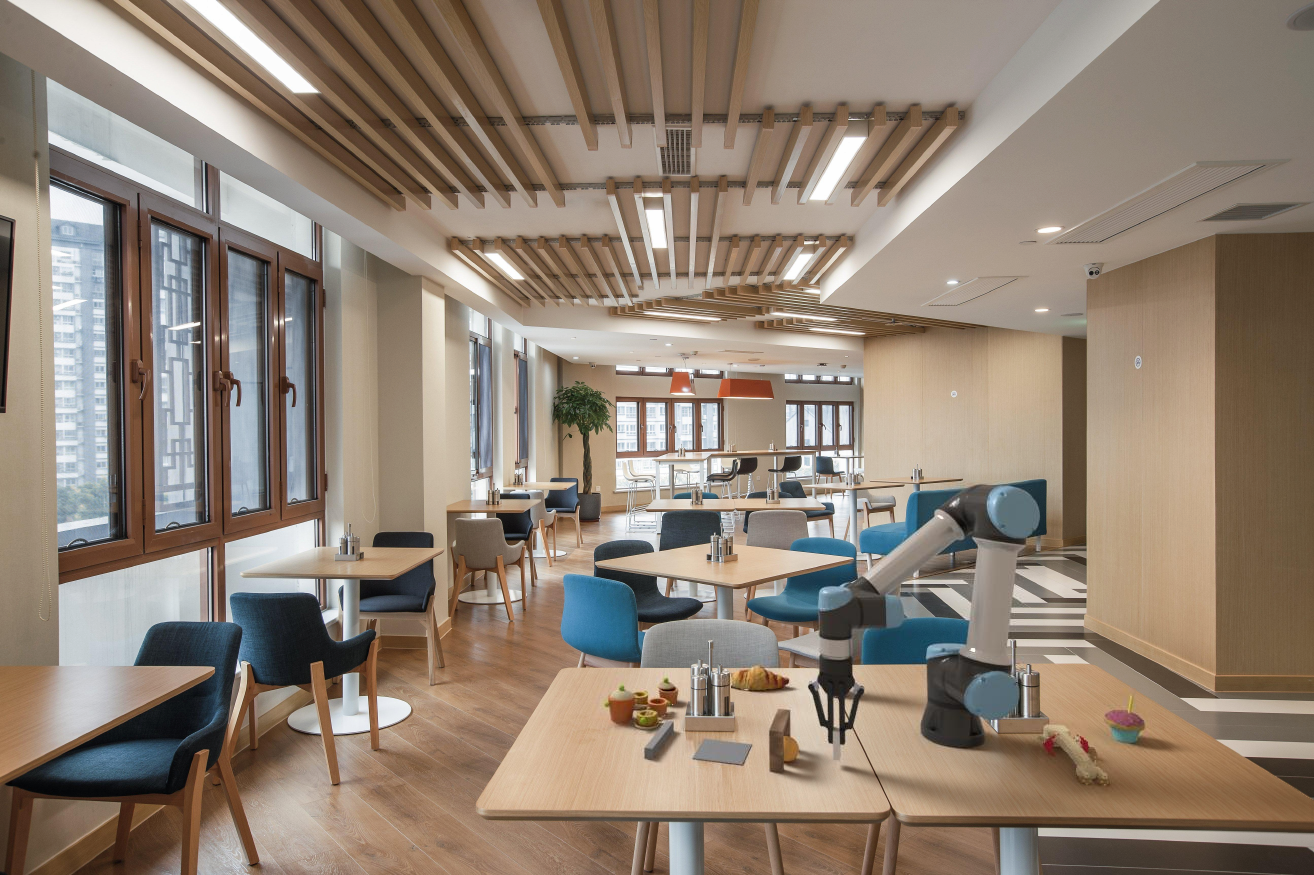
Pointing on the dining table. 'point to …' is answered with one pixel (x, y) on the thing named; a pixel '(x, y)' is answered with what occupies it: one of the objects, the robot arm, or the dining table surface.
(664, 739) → the stopper
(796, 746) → the ball
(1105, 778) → the bone
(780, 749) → the bridge
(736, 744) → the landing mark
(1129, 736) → the cupcake
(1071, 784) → the dining table surface
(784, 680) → the croissant
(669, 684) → the toy tea set
